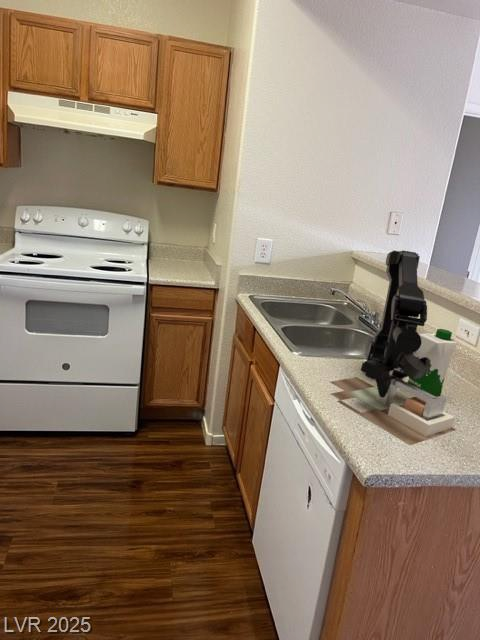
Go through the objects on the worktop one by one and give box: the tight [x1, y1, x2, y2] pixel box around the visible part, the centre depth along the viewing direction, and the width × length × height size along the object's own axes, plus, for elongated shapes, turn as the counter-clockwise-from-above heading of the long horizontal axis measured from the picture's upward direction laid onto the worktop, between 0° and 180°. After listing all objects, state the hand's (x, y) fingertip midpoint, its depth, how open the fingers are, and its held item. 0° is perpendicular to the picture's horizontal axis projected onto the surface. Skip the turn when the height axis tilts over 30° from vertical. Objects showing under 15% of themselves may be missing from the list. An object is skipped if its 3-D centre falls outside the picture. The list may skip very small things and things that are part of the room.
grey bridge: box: [376, 375, 448, 421], centre depth 122 cm, size 6×16×8 cm, turn 35°
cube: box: [404, 396, 426, 418], centre depth 120 cm, size 5×5×5 cm
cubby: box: [388, 403, 456, 436], centre depth 119 cm, size 11×11×3 cm
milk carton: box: [407, 328, 458, 397], centre depth 137 cm, size 9×9×20 cm
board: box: [329, 376, 457, 446], centre depth 125 cm, size 19×32×2 cm, turn 35°
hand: (385, 396), depth 127 cm, fingers closed on grey bridge, 3 cm apart
